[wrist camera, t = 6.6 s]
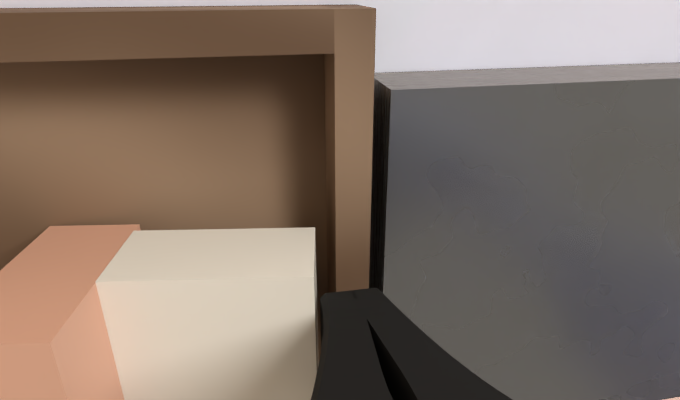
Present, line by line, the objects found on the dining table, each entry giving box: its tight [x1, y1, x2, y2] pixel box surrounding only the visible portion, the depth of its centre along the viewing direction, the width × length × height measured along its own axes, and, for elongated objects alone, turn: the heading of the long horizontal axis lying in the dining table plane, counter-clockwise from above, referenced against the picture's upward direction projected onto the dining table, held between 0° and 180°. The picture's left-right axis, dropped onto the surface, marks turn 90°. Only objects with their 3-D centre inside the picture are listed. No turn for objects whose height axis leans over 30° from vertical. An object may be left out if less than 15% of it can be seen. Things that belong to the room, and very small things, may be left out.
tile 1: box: [0, 224, 141, 400], centre depth 10 cm, size 4×4×2 cm
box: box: [0, 5, 376, 360], centre depth 11 cm, size 13×14×2 cm
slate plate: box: [369, 62, 680, 400], centre depth 14 cm, size 10×12×2 cm
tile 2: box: [95, 227, 319, 400], centre depth 11 cm, size 4×4×2 cm
